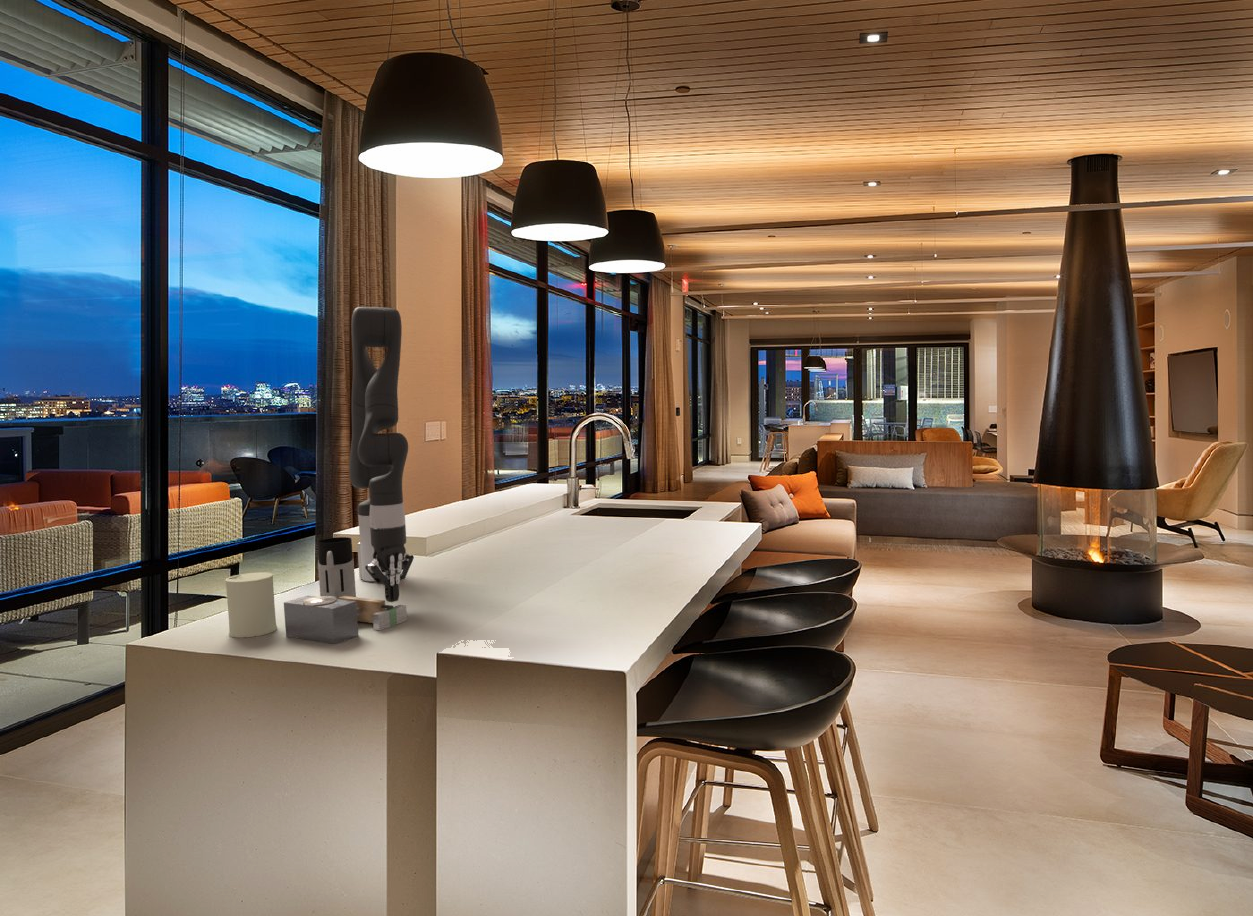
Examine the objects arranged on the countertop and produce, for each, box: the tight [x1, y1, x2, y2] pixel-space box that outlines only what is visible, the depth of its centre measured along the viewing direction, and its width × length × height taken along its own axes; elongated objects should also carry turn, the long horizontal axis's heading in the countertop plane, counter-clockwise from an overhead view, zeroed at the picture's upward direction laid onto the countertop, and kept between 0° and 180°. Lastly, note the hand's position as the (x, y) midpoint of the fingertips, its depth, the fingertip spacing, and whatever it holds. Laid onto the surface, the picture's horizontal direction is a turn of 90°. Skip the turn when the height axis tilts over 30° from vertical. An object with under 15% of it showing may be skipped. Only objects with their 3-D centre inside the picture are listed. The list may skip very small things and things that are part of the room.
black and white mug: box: [317, 536, 357, 599], centre depth 196 cm, size 9×14×15 cm, turn 10°
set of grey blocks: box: [283, 595, 408, 645], centre depth 177 cm, size 15×19×7 cm
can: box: [224, 571, 278, 639], centre depth 178 cm, size 9×9×12 cm
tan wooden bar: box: [338, 596, 394, 624], centre depth 179 cm, size 15×6×5 cm, turn 61°
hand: (392, 601), depth 190 cm, fingers closed
